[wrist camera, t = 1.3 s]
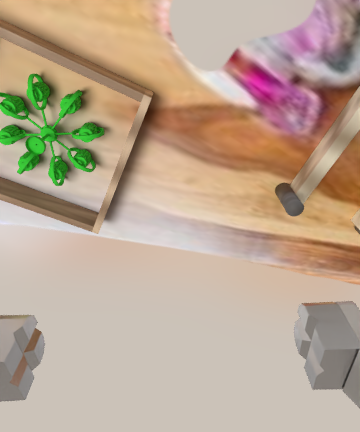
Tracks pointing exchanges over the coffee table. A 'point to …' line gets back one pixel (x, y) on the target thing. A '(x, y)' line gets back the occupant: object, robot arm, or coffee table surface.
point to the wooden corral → (94, 220)
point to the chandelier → (47, 131)
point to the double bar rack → (323, 161)
